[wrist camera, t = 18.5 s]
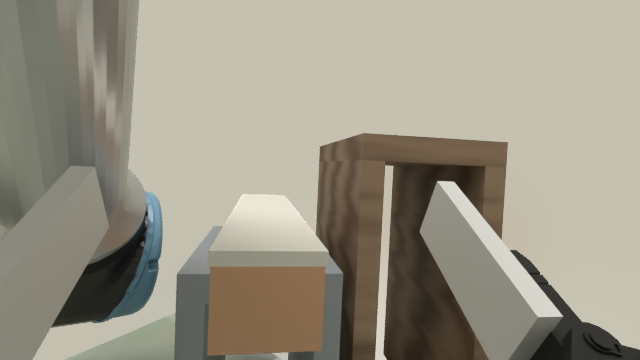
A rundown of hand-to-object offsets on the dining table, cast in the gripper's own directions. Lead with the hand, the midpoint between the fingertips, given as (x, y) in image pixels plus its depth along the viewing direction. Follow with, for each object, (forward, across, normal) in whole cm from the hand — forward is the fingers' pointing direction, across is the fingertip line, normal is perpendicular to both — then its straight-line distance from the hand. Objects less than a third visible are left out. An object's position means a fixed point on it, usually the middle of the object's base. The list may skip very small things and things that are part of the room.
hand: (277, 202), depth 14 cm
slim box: (+8, 0, -11) cm, 14 cm away
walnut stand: (+7, +13, -31) cm, 35 cm away
